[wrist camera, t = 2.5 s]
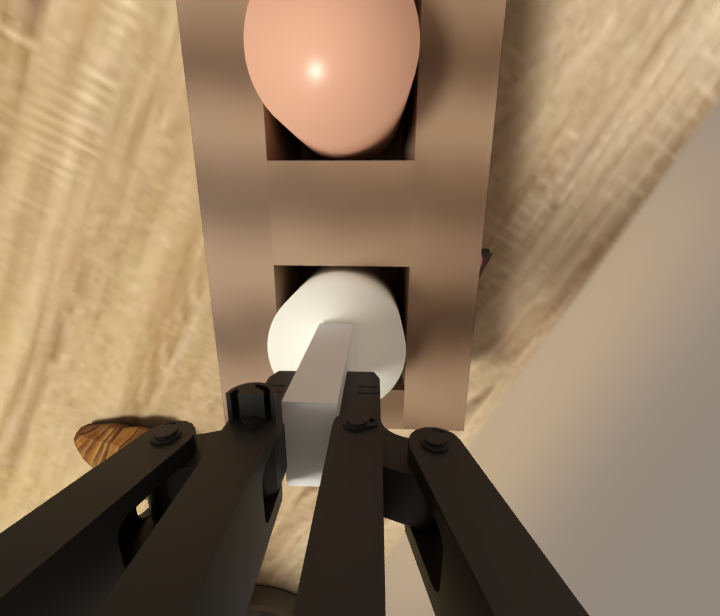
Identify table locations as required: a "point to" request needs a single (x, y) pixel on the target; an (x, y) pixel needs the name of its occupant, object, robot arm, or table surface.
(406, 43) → the pink egg shaped ball
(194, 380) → the table surface
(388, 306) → the white egg in box
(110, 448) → the croissant
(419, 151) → the wooden egg holder
